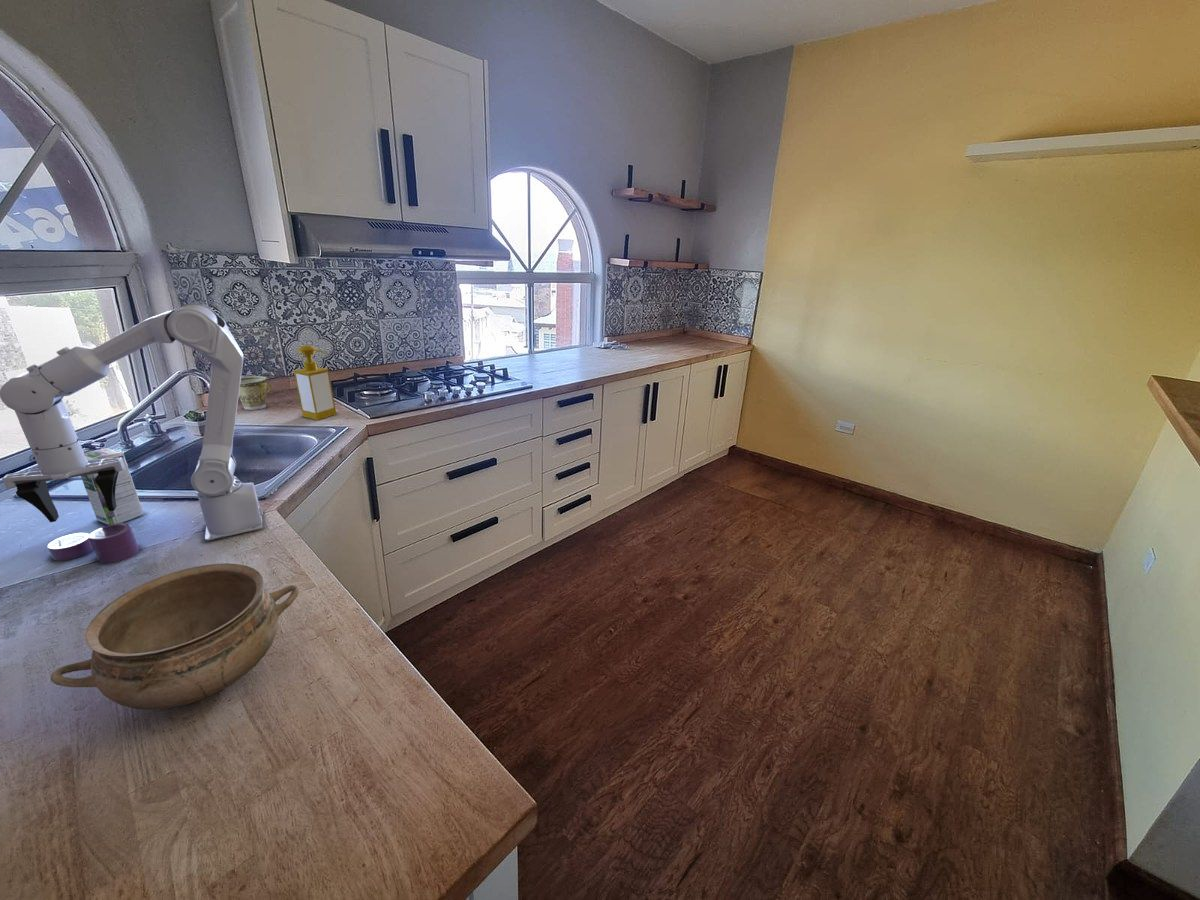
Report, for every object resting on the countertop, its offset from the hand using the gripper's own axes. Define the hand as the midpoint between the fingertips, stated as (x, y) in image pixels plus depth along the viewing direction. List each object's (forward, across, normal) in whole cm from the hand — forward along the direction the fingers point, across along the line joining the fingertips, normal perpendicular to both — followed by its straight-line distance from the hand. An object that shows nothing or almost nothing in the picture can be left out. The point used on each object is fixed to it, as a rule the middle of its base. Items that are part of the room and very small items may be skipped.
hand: (84, 514), depth 90 cm
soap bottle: (+9, +45, +68) cm, 82 cm away
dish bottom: (+8, +3, -2) cm, 9 cm away
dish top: (+8, -4, +3) cm, 10 cm away
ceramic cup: (+9, +26, +89) cm, 93 cm away
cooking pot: (+9, +18, -45) cm, 49 cm away
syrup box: (+8, +1, +15) cm, 17 cm away
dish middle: (+6, +3, -2) cm, 7 cm away
